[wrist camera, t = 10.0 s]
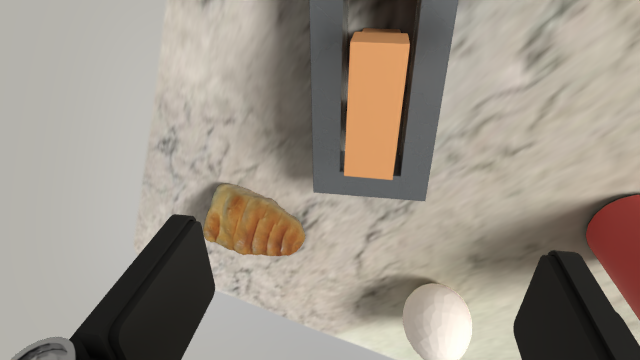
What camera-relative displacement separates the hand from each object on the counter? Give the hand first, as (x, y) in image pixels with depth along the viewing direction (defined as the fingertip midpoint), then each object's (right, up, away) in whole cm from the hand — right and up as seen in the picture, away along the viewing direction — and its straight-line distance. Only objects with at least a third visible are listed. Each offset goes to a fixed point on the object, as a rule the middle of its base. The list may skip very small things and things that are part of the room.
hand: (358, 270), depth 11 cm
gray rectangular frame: (+3, +10, +17) cm, 20 cm away
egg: (+10, -8, +27) cm, 30 cm away
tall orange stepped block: (+3, +10, +17) cm, 20 cm away
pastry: (-7, -1, +26) cm, 27 cm away
